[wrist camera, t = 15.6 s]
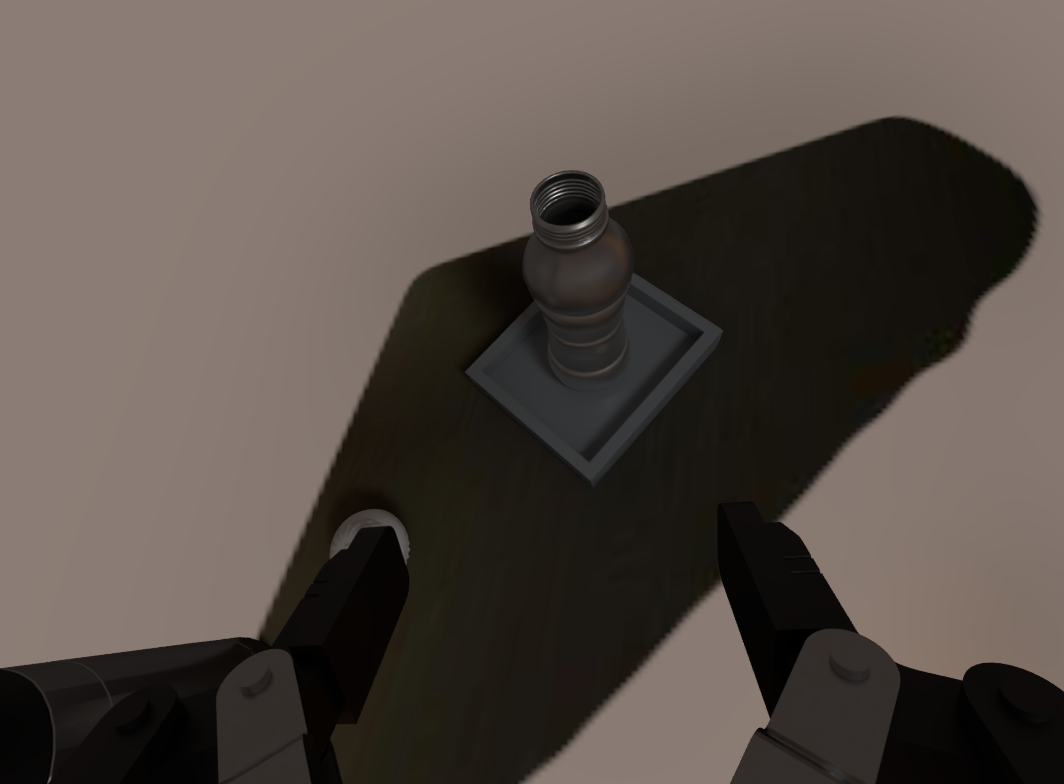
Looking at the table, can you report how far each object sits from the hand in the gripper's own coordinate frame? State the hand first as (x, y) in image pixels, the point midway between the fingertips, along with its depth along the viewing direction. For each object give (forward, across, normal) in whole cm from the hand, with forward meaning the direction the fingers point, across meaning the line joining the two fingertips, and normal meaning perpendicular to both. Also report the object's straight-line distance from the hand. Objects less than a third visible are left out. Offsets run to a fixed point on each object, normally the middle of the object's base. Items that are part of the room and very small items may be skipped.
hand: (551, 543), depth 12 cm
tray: (+32, -1, +8) cm, 32 cm away
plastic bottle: (+31, -1, +7) cm, 32 cm away
